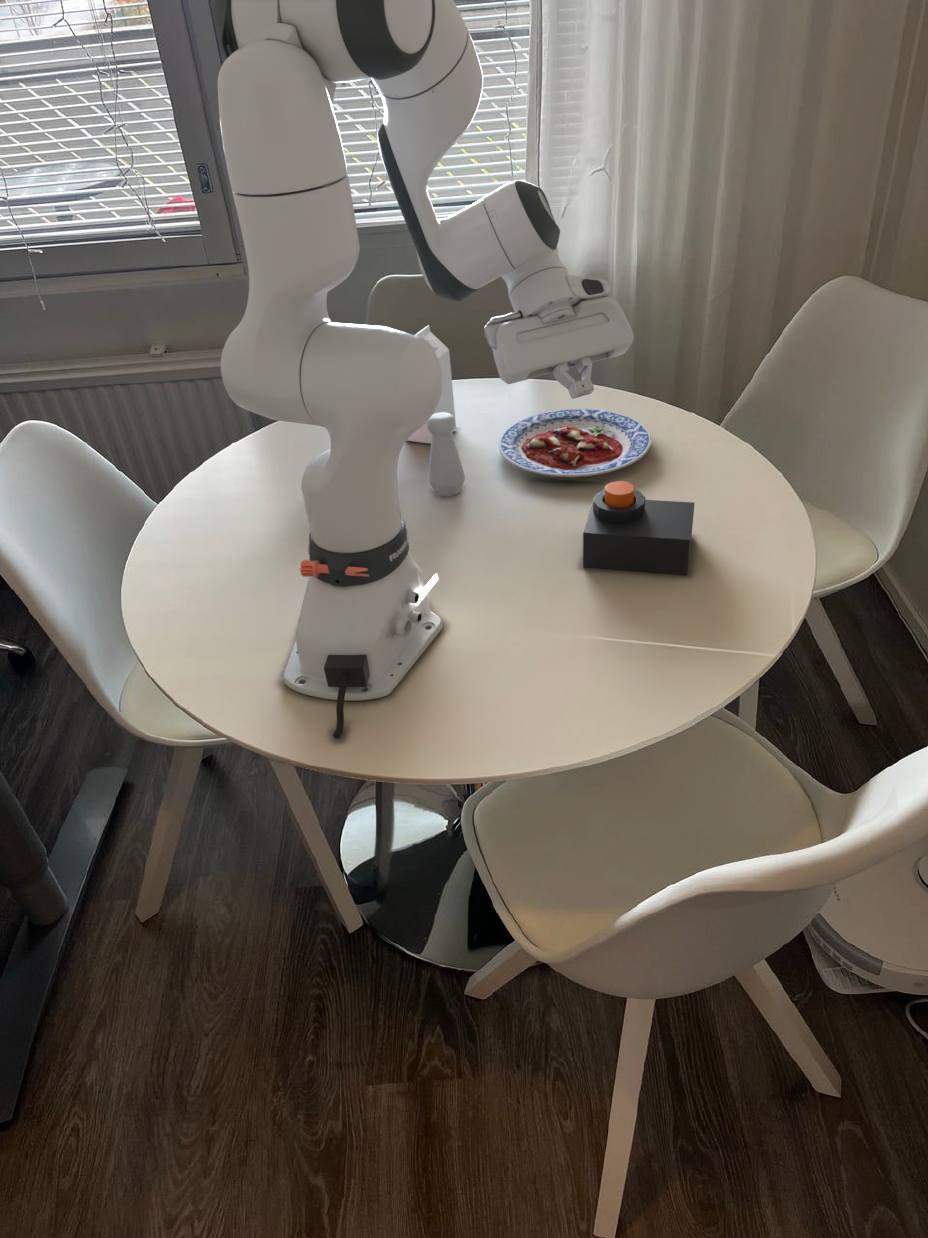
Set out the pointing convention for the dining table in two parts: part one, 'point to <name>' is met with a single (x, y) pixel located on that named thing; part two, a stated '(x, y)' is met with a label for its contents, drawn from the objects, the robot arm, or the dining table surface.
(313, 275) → the robot arm
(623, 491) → the orange push button
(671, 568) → the button base
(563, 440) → the ceramic plate
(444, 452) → the salt shaker
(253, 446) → the dining table surface
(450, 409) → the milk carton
